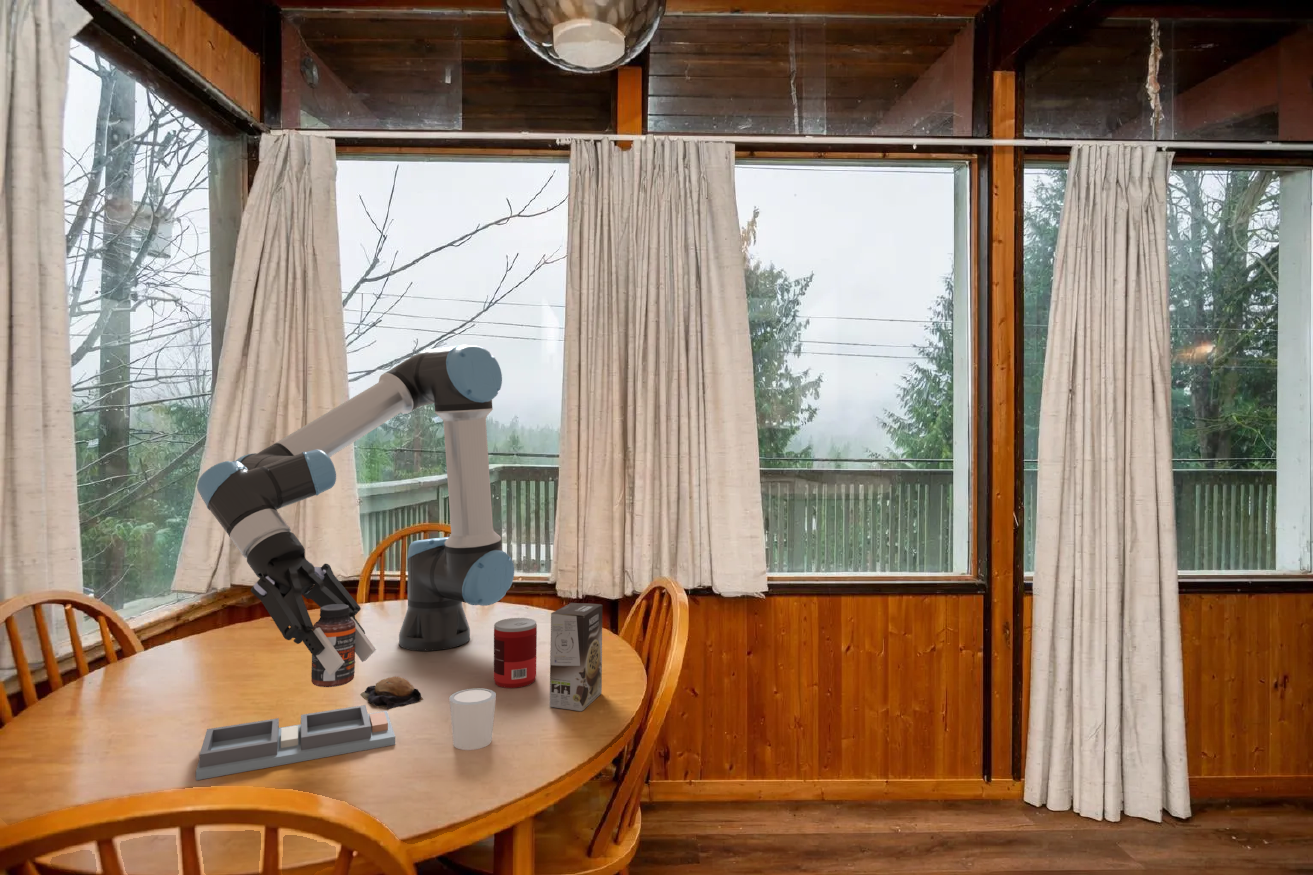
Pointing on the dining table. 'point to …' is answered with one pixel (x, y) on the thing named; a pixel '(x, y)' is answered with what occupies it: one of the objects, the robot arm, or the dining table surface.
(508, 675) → the canned food
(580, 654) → the grey food box
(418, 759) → the dining table surface
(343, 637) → the supplement bottle
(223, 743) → the compartment tray
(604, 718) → the dining table surface
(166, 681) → the dining table surface
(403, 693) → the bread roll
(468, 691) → the white short cylinder
